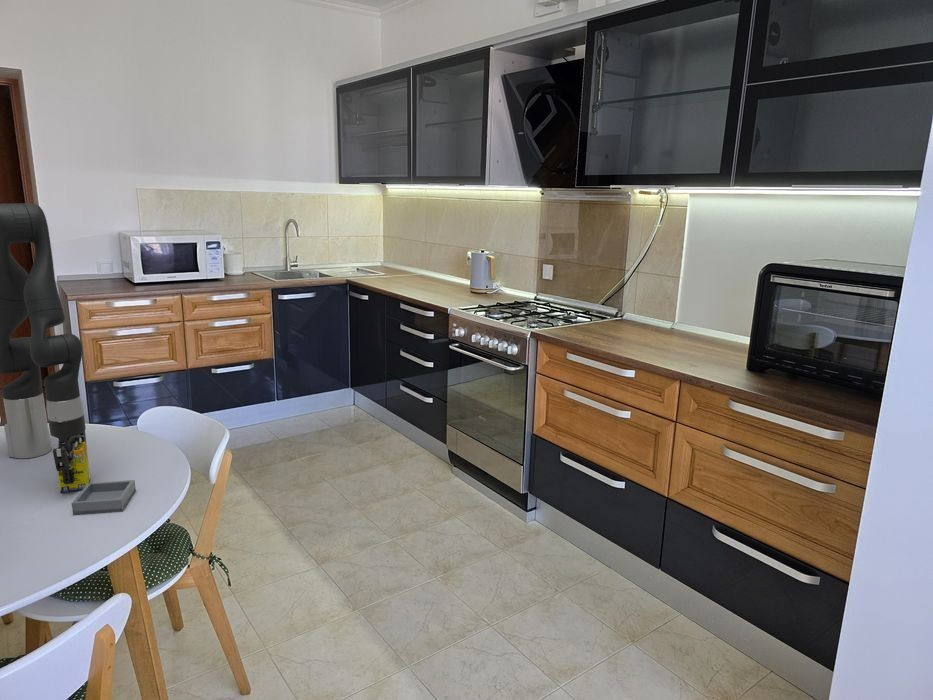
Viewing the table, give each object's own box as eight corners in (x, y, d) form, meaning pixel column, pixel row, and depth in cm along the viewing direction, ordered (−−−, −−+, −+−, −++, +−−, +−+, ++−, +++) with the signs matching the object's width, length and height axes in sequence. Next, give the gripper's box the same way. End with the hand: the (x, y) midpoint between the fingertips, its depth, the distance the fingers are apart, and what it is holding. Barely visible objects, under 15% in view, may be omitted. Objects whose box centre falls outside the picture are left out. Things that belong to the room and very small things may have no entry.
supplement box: (60, 494, 157) (54, 453, 155) (64, 483, 163) (58, 444, 160) (87, 490, 160) (82, 449, 157) (90, 480, 165) (85, 440, 162)
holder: (73, 515, 148) (71, 503, 147) (89, 494, 158) (88, 482, 157) (122, 511, 150) (121, 499, 149) (135, 490, 160) (134, 479, 159)
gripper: (60, 405, 162) (69, 466, 167) (36, 426, 149) (46, 491, 153) (93, 404, 164) (100, 464, 168) (71, 424, 150) (80, 488, 154)
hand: (74, 476), depth 160 cm, fingers closed on supplement box, 6 cm apart
